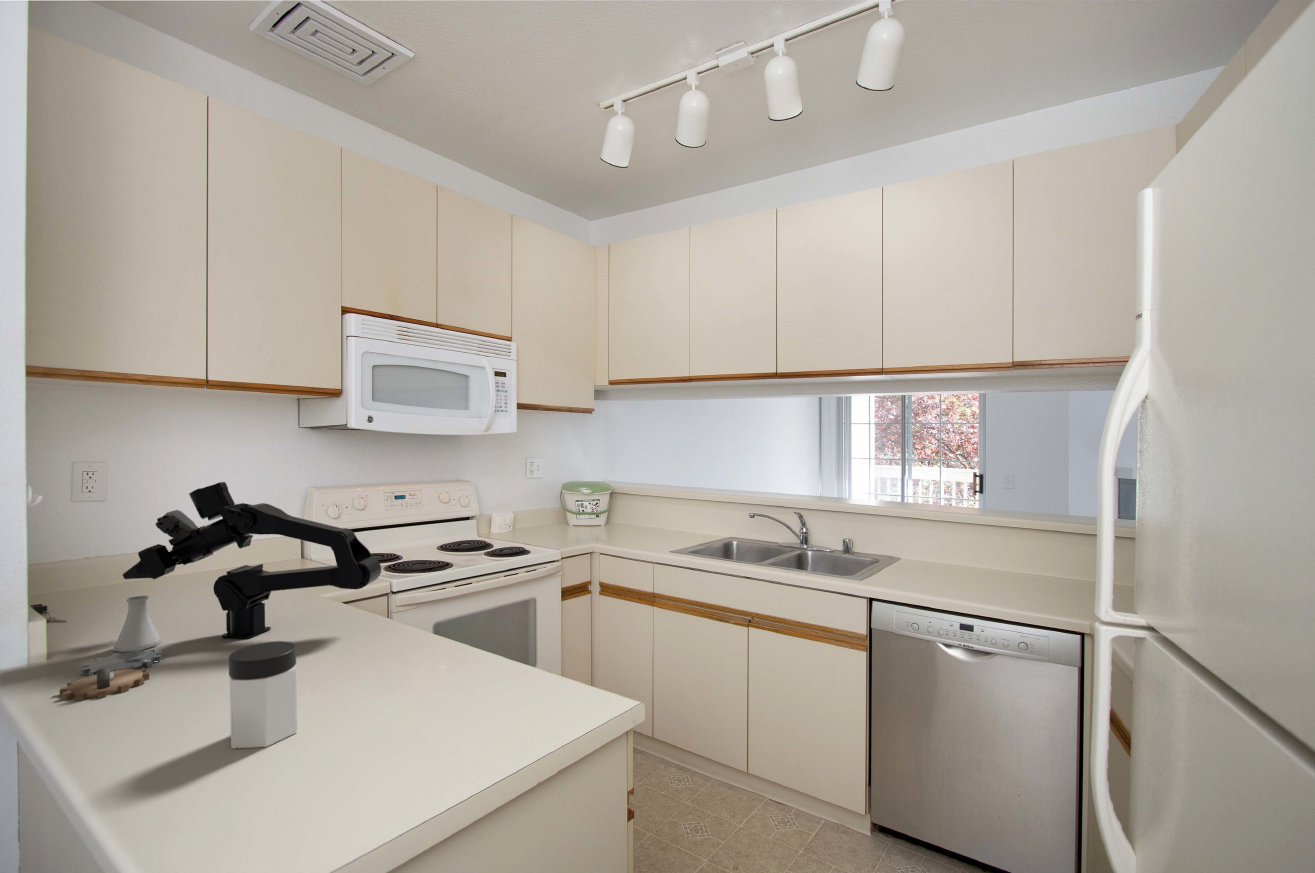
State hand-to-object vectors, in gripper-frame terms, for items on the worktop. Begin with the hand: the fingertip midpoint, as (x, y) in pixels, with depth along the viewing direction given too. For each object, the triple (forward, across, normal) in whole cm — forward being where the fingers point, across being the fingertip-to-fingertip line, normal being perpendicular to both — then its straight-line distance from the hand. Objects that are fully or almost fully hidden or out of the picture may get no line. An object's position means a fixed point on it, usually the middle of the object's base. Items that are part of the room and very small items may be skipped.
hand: (139, 570), depth 130 cm
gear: (-1, +17, +15) cm, 23 cm away
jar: (-36, +50, +30) cm, 69 cm away
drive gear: (-4, +27, +16) cm, 32 cm away
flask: (+3, +6, +14) cm, 16 cm away
